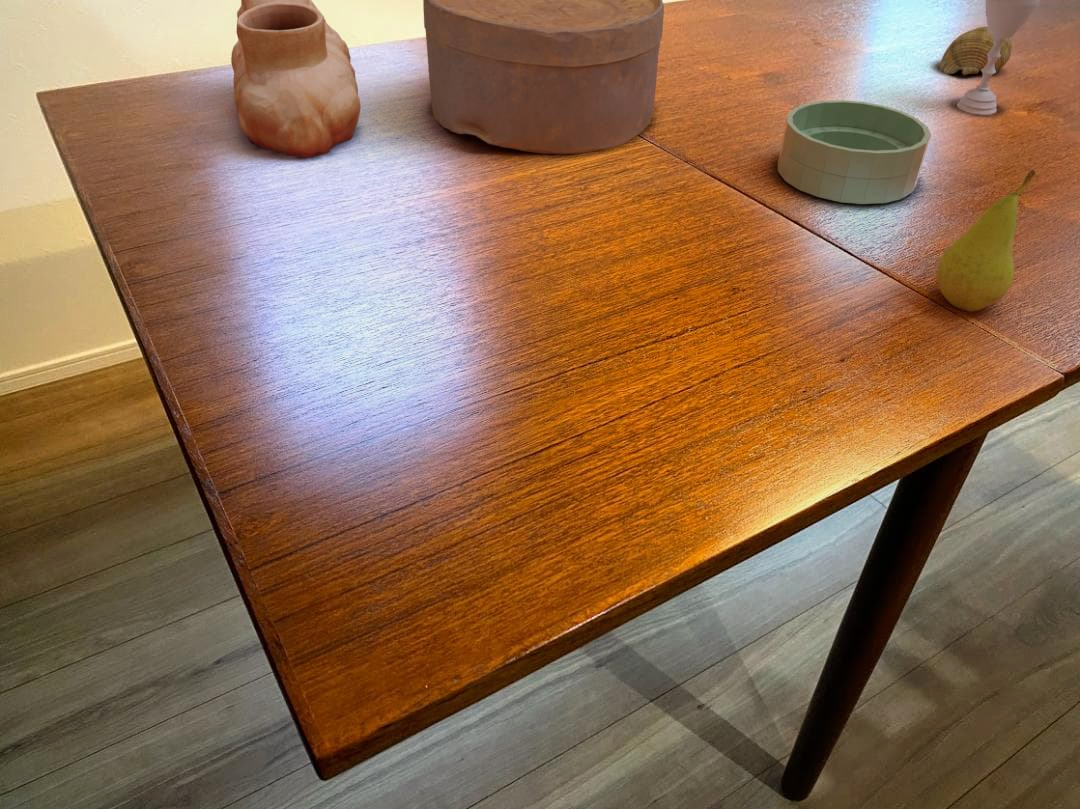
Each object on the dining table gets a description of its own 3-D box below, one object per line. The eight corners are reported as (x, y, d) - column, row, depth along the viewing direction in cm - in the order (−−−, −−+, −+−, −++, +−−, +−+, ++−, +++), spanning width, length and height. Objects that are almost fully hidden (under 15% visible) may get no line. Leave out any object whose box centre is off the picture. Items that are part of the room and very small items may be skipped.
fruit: (915, 307, 75) (960, 173, 67) (943, 281, 78) (988, 151, 71) (984, 333, 72) (1038, 196, 64) (1009, 304, 75) (1063, 172, 68)
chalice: (956, 95, 115) (1003, -57, 104) (1011, 107, 112) (1066, -49, 101) (940, 112, 110) (987, -46, 99) (996, 125, 107) (1052, -37, 96)
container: (475, 175, 93) (472, 25, 84) (398, 96, 113) (390, -32, 104) (699, 142, 103) (718, 4, 94) (592, 75, 122) (599, -44, 114)
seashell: (951, 108, 123) (1000, 75, 116) (920, 68, 122) (967, 32, 115) (981, 78, 127) (1030, 44, 120) (951, 40, 127) (998, 3, 120)
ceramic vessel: (343, 78, 117) (327, -46, 107) (376, 156, 97) (361, 13, 88) (234, 88, 113) (209, -40, 104) (246, 170, 94) (216, 23, 85)
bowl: (904, 158, 99) (919, 105, 95) (922, 215, 88) (940, 158, 84) (775, 147, 101) (785, 95, 97) (777, 202, 90) (789, 145, 86)
